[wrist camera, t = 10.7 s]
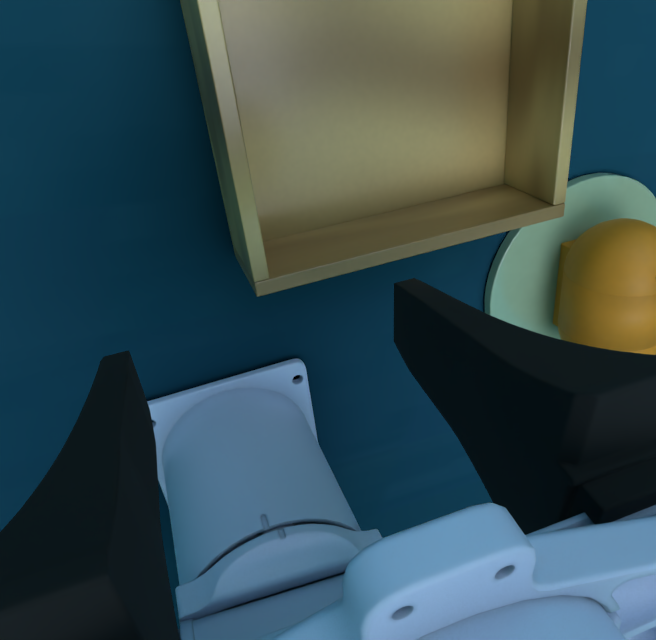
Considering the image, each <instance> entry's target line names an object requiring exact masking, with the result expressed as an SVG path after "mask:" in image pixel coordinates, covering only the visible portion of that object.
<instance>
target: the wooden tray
mask: <svg viewBox="0 0 656 640" xmlns="http://www.w3.org/2000/svg"><path fill="white" fill-rule="evenodd" d="M180 3H181V7H182V12H183V16H184V21H185V26H186V30H187V35H188V40H189V44H190V49H191V53H192V58H193V63H194V67H195V72H196V77H197V81H198V86H199V91H200V95H201V100H202V104H203V109H204V114H205V118H206V123H207V128H208V132H209V137H210V142H211V146H212V151H213V155H214V160H215V165H216V169H217V174H218V179H219V183H220V188H221V192H222V197H223V202H224V206H225V211H226V216H227V220H228V225H229V230H230V234H231V239H232V243H233V248H234V253H235V257H236V258H237V260H238V262H239V264H240V266H241V268H242V270H243V272H244V273H245V275H246V277H247V279H248V281H249V283H250V285H251V287H252V288H253V290H254V292H255V294H256V296H257V297H259V296H263V295H267V294H270V293H274V292H278V291H282V290H286V289H289V288H293V287H297V286H301V285H305V284H308V283H312V282H316V281H320V280H324V279H327V278H331V277H335V276H339V275H343V274H346V273H350V272H354V271H358V270H362V269H366V268H369V267H373V266H377V265H381V264H385V263H388V262H392V261H396V260H400V259H404V258H407V257H411V256H415V255H419V254H423V253H426V252H430V251H434V250H438V249H442V248H445V247H449V246H453V245H457V244H461V243H464V242H468V241H472V240H476V239H480V238H484V237H487V236H491V235H495V234H499V233H503V232H506V231H510V230H514V229H518V228H522V227H525V226H529V225H533V224H537V223H541V222H544V221H548V220H552V219H556V218H560V217H563V216H564V210H565V200H566V191H567V182H568V172H569V163H570V154H571V145H572V136H573V126H574V117H575V108H576V99H577V90H578V80H579V71H580V62H581V53H582V43H583V34H584V25H585V16H586V7H587V0H180Z"/></svg>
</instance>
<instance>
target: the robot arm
mask: <svg viewBox="0 0 656 640" xmlns="http://www.w3.org/2000/svg"><path fill="white" fill-rule="evenodd" d="M394 342H395V344H396V346H397V348H398V350H399V352H400V354H401V356H402V358H403V360H404V362H405V363H406V365H407V367H408V369H409V370H410V372H411V373H412V375H413V376H414V377H415V379H416V380H417V382H418V383H419V384H420V386H421V387H422V389H423V390H424V391H425V393H426V394H427V395H428V397H429V398H430V399H431V401H432V402H433V403H434V405H435V406H436V408H437V409H438V410H439V412H440V413H441V414H442V416H443V417H444V418H445V420H446V421H447V423H448V424H449V425H450V427H451V428H452V430H453V431H454V433H455V434H456V436H457V437H458V439H459V441H460V442H461V444H462V446H463V448H464V449H465V451H466V453H467V455H468V456H469V458H470V460H471V462H472V463H473V465H474V467H475V469H476V471H477V473H478V475H479V476H480V478H481V480H482V482H483V484H484V486H485V488H486V489H487V491H488V493H489V495H490V497H491V499H492V501H493V503H485V504H479V505H474V506H470V507H467V508H464V509H462V510H459V511H456V512H453V513H451V514H448V515H445V516H442V517H440V518H437V519H434V520H431V521H428V522H426V523H423V524H420V525H417V526H415V527H412V528H409V529H406V530H404V531H401V532H398V533H395V534H392V535H390V536H387V537H384V538H382V536H381V535H380V533H379V531H378V529H373V530H368V531H361V529H360V527H359V525H358V523H357V521H356V519H355V517H354V515H353V513H352V511H351V509H350V507H349V505H348V503H347V501H346V499H345V497H344V495H343V493H342V491H341V489H340V487H339V485H338V483H337V480H336V478H335V476H334V474H333V472H332V470H331V468H330V466H329V464H328V462H327V460H326V458H325V456H324V454H323V452H322V450H321V448H320V446H319V444H318V439H317V433H316V427H315V421H314V415H313V409H312V402H311V396H310V390H309V384H308V378H307V372H306V367H305V365H304V363H303V361H301V360H300V359H297V358H296V359H291V360H287V361H284V362H280V363H277V364H273V365H270V366H267V367H263V368H260V369H256V370H253V371H250V372H246V373H243V374H239V375H236V376H232V377H229V378H226V379H222V380H219V381H215V382H212V383H209V384H205V385H202V386H198V387H195V388H191V389H188V390H185V391H181V392H178V393H174V394H171V395H168V396H164V397H161V398H157V399H154V400H150V401H147V400H146V397H145V394H144V392H143V389H142V386H141V383H140V380H139V378H138V375H137V372H136V369H135V366H134V364H133V361H132V358H131V355H130V352H129V351H125V352H121V353H117V354H113V355H109V356H105V357H103V359H102V360H101V361H100V364H99V368H98V371H97V374H96V377H95V379H94V382H93V385H92V387H91V390H90V392H89V395H88V397H87V400H86V402H85V404H84V406H83V409H82V411H81V413H80V415H79V418H78V420H77V422H76V424H75V426H74V427H73V429H72V431H71V433H70V435H69V437H68V439H67V441H66V443H65V445H64V446H63V448H62V450H61V452H60V453H59V455H58V457H57V458H56V460H55V462H54V463H53V465H52V466H51V468H50V469H49V471H48V472H47V474H46V475H45V477H44V478H43V480H42V481H41V483H40V484H39V485H38V487H37V488H36V489H35V491H34V492H33V494H32V495H31V496H30V498H29V499H28V500H27V502H26V503H25V504H24V505H23V507H22V508H21V509H20V510H19V512H18V513H17V514H16V515H15V516H14V517H13V519H12V520H11V521H10V522H9V523H8V524H7V525H6V527H5V528H4V529H3V530H2V531H1V532H0V640H656V355H650V354H641V353H632V352H623V351H615V350H609V349H603V348H597V347H591V346H587V345H582V344H577V343H573V342H569V341H565V340H561V339H557V338H553V337H549V336H546V335H542V334H539V333H536V332H533V331H530V330H527V329H524V328H521V327H518V326H516V325H513V324H510V323H508V322H505V321H503V320H500V319H498V318H496V317H493V316H491V315H488V314H486V313H484V312H482V311H480V310H477V309H475V308H473V307H471V306H469V305H467V304H465V303H463V302H461V301H459V300H457V299H455V298H453V297H451V296H449V295H447V294H445V293H443V292H441V291H439V290H437V289H435V288H433V287H432V286H430V285H428V284H426V283H424V282H421V281H419V280H417V279H415V278H413V279H409V280H405V281H401V282H398V283H394ZM296 375H300V377H299V378H298V379H296V380H293V378H294V376H296ZM152 420H154V422H153V423H152ZM158 480H159V483H160V486H161V488H162V491H163V494H164V496H165V499H166V502H167V504H168V507H169V512H170V520H171V527H172V534H173V541H174V549H175V556H176V563H177V570H178V578H179V585H180V586H178V587H177V588H176V589H175V592H176V600H177V607H178V615H179V622H180V629H178V628H177V623H176V617H175V612H174V606H173V601H172V595H171V589H170V583H169V577H168V572H167V566H166V559H165V553H164V547H163V541H162V534H161V524H160V510H159V491H158Z"/></svg>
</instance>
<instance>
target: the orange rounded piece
mask: <svg viewBox="0 0 656 640" xmlns="http://www.w3.org/2000/svg"><path fill="white" fill-rule="evenodd" d="M553 324H554V325H556V326H557V327H558V331H559V335H560V338H561V340H565V341H569V342H573V343H577V344H582V345H587V346H591V347H597V348H603V349H609V350H615V351H623V352H632V353H641V354H650V355H655V354H656V227H655V226H653V225H651V224H649V223H646V222H644V221H641V220H637V219H629V218H619V219H613V220H609V221H604V222H601V223H599V224H597V225H595V226H593V227H591V228H589V229H588V230H587V231H585V232H584V233H583V234H582V235H581V236H579V237H578V238H577V239H575V240H572V241H568V242H564V243H561V250H560V259H559V268H558V277H557V287H556V296H555V305H554V314H553Z"/></svg>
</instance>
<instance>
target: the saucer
mask: <svg viewBox="0 0 656 640" xmlns="http://www.w3.org/2000/svg"><path fill="white" fill-rule="evenodd" d="M619 218H629V219H637V220H641V221H644V222H646V223H649V224H651V225H653V226H655V227H656V198H655V197H654V195H653V194H652V192H651V191H650V190H649V189H648V188H647V187H646V186H644V185H643V184H641V183H640V182H638V181H637V180H634V179H631V178H629V177H626V176H623V175H620V174H614V173H594V174H589V175H584V176H581V177H578V178H575V179H572V180H570V181H568V182H567V191H566V200H565V210H564V216H563V217H560V218H556V219H552V220H548V221H544V222H541V223H537V224H533V225H529V226H525V227H522V228H518V229H514V230H510V231H509V233H508V234H507V236H506V237H505V239H504V241H503V242H502V244H501V246H500V248H499V249H498V252H497V254H496V256H495V258H494V260H493V263H492V266H491V269H490V272H489V275H488V279H487V283H486V288H485V298H484V307H485V313H486V314H488V315H491V316H493V317H496V318H498V319H500V320H503V321H505V322H508V323H510V324H513V325H516V326H518V327H521V328H524V329H527V330H530V331H533V332H536V333H539V334H542V335H546V336H549V337H553V338H557V339H561V338H560V335H559V331H558V327H557V326H556V325H554V324H553V314H554V305H555V296H556V287H557V277H558V268H559V259H560V250H561V243H564V242H568V241H572V240H575V239H577V238H578V237H579V236H581V235H582V234H583V233H584V232H585V231H587V230H588V229H589V228H591V227H593V226H595V225H597V224H599V223H601V222H604V221H609V220H613V219H619Z"/></svg>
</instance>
